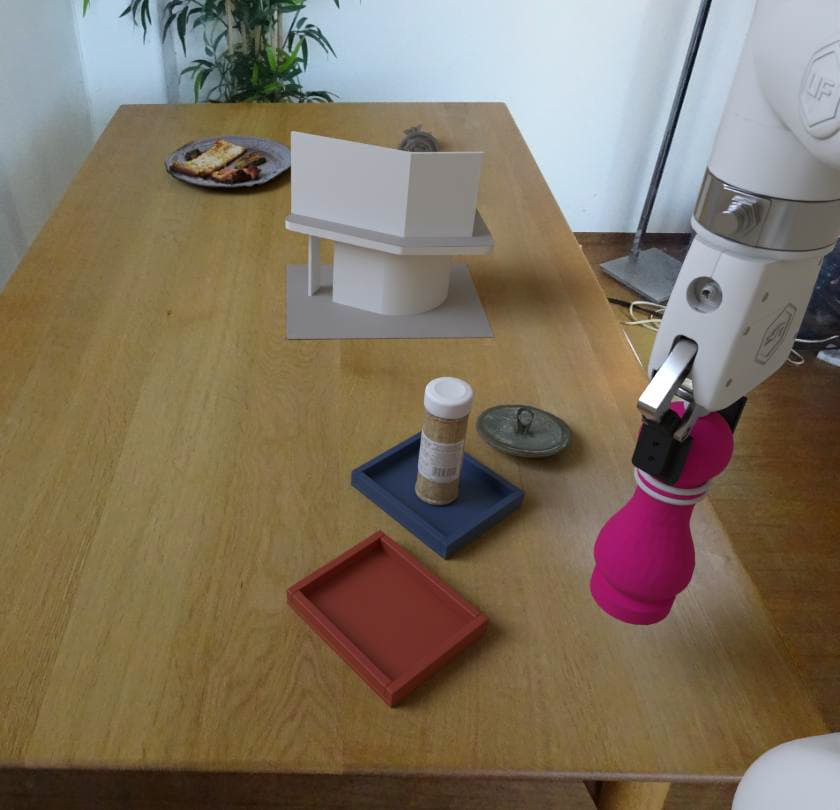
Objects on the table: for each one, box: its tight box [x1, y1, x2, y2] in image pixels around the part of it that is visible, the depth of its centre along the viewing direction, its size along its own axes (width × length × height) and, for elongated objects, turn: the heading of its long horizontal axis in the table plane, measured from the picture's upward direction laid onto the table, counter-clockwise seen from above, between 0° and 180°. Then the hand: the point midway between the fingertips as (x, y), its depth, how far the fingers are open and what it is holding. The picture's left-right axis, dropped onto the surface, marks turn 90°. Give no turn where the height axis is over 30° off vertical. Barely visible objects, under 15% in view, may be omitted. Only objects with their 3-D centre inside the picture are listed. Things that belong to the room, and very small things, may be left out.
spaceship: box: [397, 123, 441, 152], centre depth 152 cm, size 8×35×8 cm
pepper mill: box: [589, 399, 735, 626], centre depth 59 cm, size 7×7×20 cm
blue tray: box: [350, 430, 526, 560], centre depth 84 cm, size 14×12×2 cm
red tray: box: [286, 529, 489, 709], centre depth 72 cm, size 14×12×2 cm
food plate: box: [164, 134, 291, 190], centre depth 154 cm, size 25×23×4 cm
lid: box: [475, 404, 573, 458], centre depth 90 cm, size 11×10×5 cm
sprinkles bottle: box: [415, 376, 475, 505], centre depth 80 cm, size 5×5×14 cm
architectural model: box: [285, 130, 496, 340], centre depth 110 cm, size 28×21×23 cm
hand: (681, 451), depth 56 cm, fingers closed on pepper mill, 6 cm apart
